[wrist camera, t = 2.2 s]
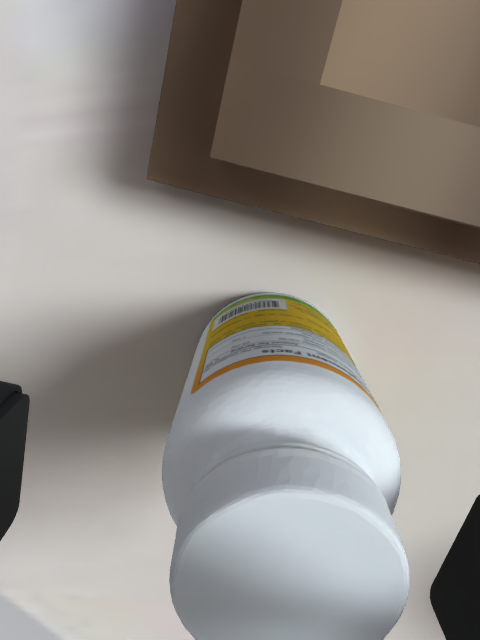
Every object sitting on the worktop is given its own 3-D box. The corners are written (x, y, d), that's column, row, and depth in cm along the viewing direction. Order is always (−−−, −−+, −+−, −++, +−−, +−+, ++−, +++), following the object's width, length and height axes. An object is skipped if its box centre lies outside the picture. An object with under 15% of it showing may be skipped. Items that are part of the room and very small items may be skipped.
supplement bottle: (289, 445, 18) (329, 743, 8) (171, 380, 17) (71, 627, 8) (371, 338, 16) (531, 555, 7) (245, 260, 15) (234, 387, 6)
